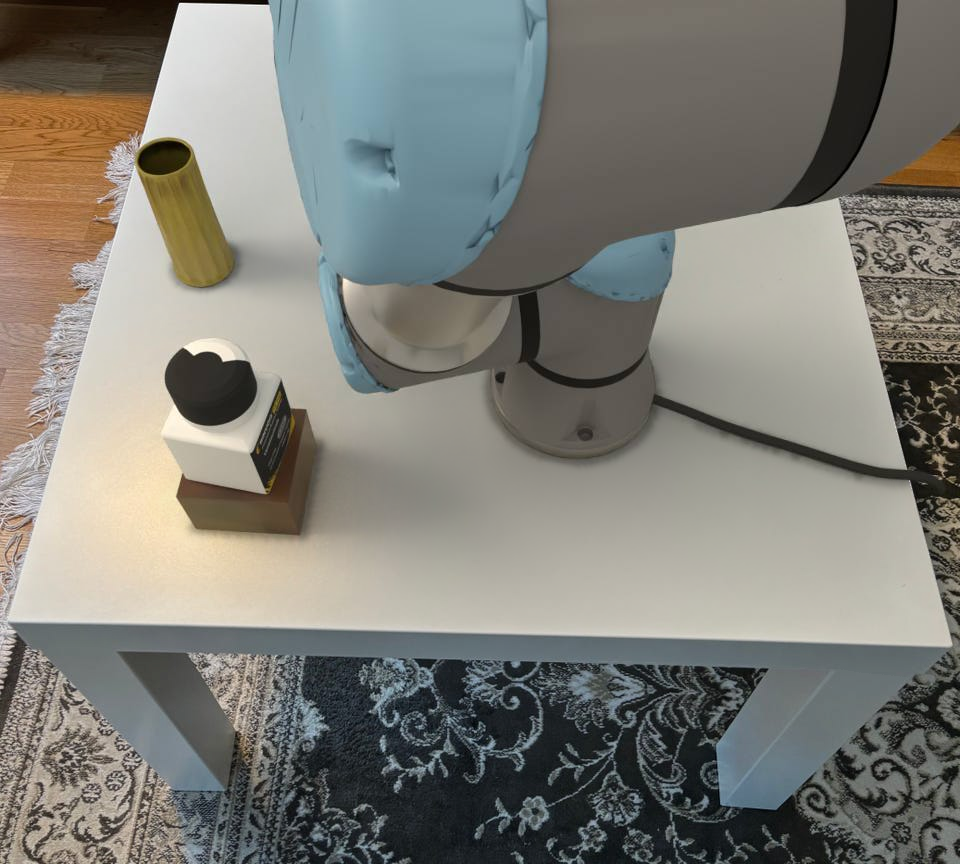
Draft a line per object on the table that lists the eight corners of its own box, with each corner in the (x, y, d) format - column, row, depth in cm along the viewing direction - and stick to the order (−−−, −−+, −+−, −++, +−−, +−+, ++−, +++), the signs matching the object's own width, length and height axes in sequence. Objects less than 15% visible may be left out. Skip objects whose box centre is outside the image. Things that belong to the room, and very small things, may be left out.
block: (316, 444, 80) (306, 408, 75) (300, 535, 76) (287, 504, 70) (218, 438, 80) (201, 402, 75) (195, 528, 76) (175, 496, 71)
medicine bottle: (269, 496, 71) (235, 416, 60) (184, 480, 71) (137, 398, 61) (296, 422, 74) (269, 334, 64) (215, 407, 75) (175, 318, 65)
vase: (246, 265, 91) (212, 157, 79) (197, 298, 89) (153, 191, 77) (211, 234, 93) (173, 123, 81) (162, 264, 91) (115, 155, 79)
